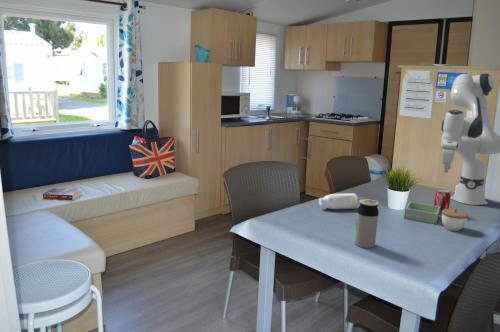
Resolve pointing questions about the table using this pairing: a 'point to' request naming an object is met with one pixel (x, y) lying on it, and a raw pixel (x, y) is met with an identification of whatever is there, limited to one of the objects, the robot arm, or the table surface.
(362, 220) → the travel mug
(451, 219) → the lidded jar
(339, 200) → the white bottle
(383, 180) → the table surface
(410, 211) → the serving tub
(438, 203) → the soda can
